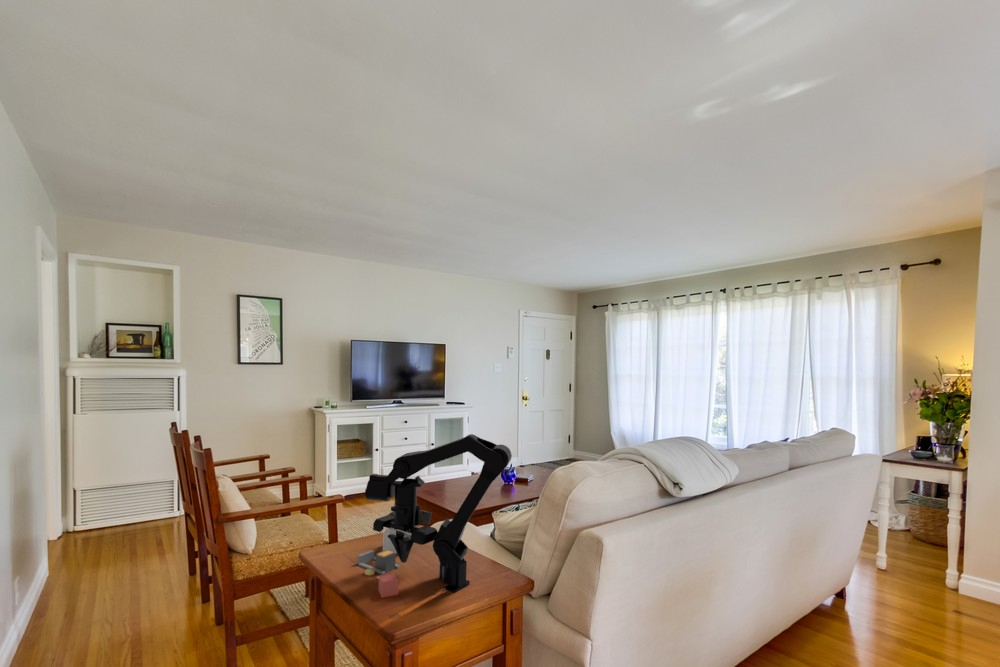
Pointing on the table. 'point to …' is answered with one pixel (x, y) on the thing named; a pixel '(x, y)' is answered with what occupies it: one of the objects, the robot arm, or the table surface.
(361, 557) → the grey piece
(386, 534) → the medicine bottle
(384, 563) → the dark grey cube
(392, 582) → the pink block
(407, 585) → the table surface
